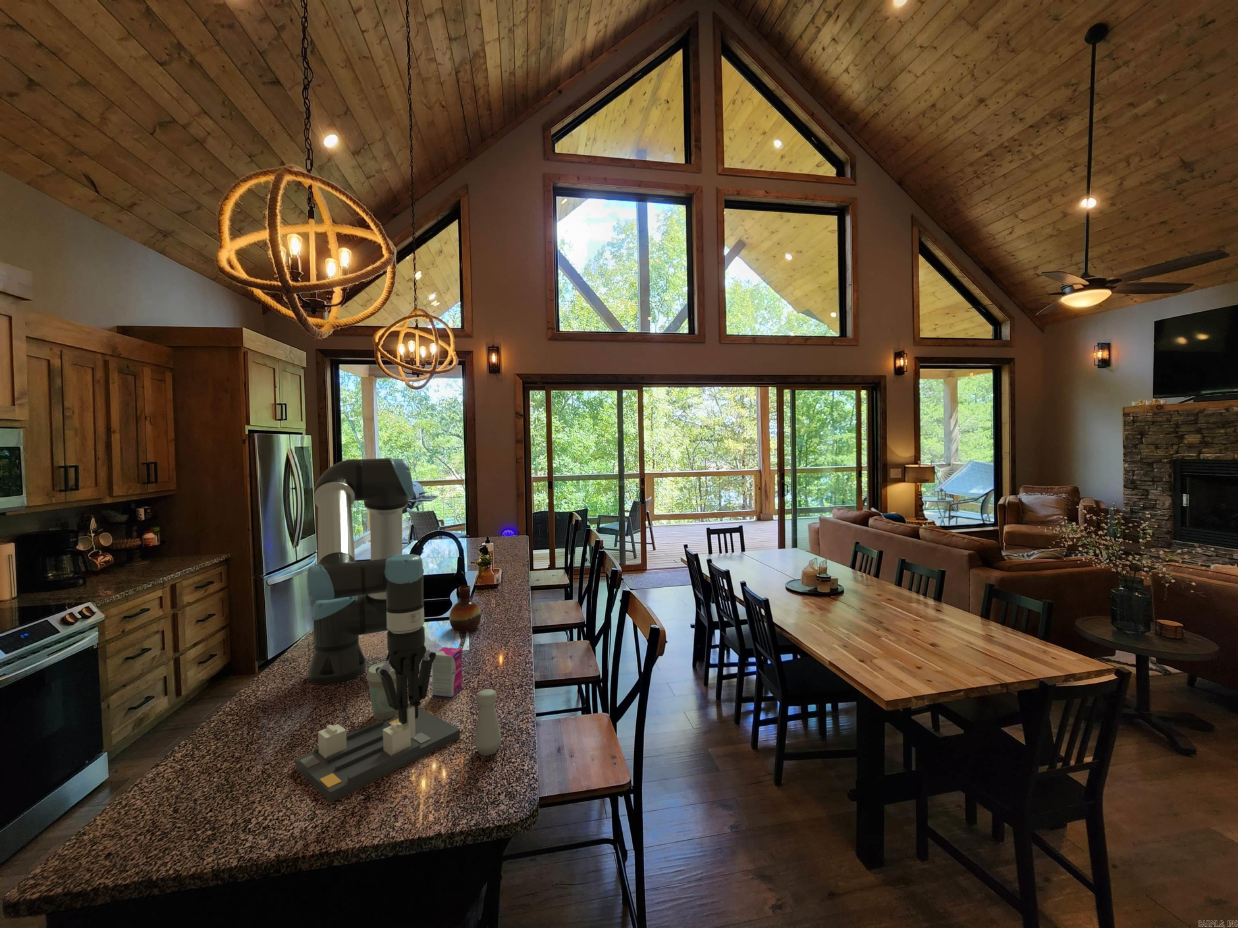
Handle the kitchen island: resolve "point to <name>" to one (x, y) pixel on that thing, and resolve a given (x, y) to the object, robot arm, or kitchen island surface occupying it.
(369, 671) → the coffee cup
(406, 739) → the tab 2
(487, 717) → the salt shaker
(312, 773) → the switch bank
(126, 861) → the kitchen island surface
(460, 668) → the supplement box
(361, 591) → the robot arm
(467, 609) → the vase
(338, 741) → the white slider knob
